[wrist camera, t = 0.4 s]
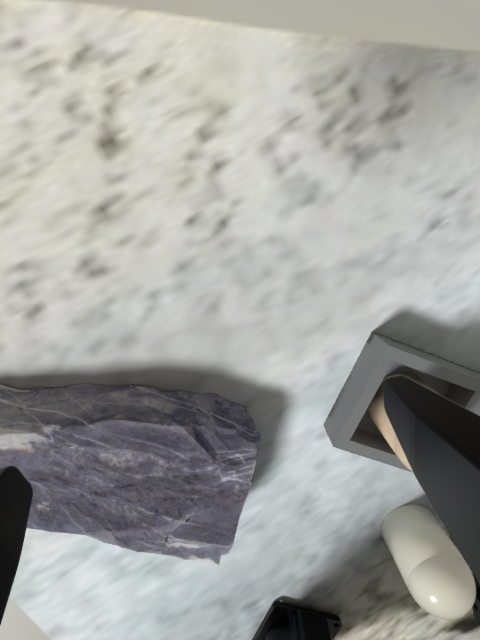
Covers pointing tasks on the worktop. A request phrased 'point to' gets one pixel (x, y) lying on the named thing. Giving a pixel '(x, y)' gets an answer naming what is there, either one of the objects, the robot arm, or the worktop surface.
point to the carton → (364, 380)
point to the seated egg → (381, 418)
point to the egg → (429, 562)
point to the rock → (132, 464)
